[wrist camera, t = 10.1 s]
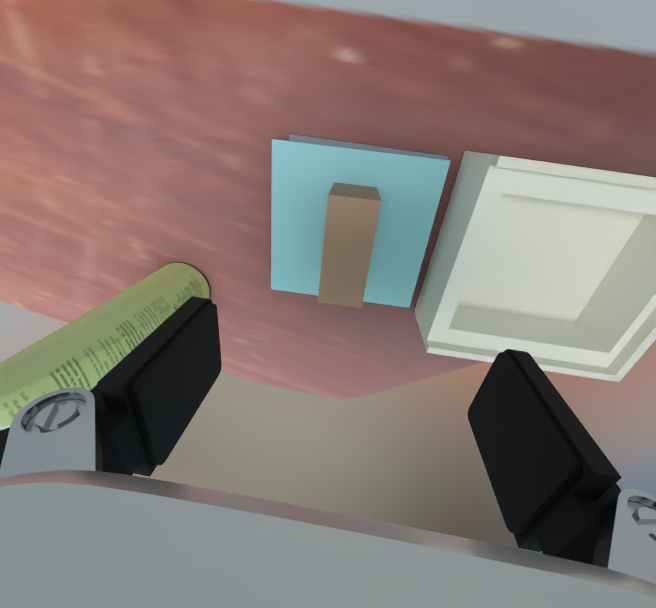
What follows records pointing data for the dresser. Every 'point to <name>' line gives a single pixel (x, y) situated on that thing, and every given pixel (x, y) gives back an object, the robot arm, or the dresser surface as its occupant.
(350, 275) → the lid
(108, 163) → the dresser surface
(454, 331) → the box
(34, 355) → the tube
